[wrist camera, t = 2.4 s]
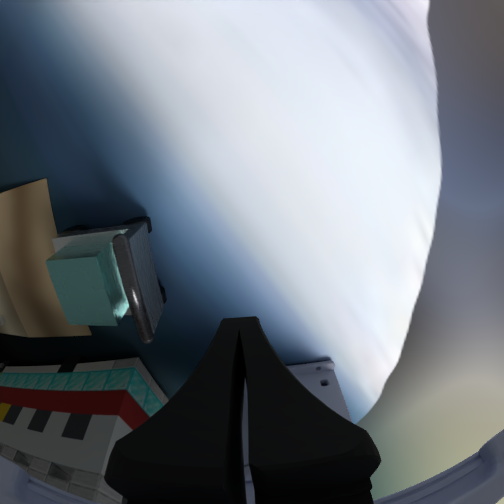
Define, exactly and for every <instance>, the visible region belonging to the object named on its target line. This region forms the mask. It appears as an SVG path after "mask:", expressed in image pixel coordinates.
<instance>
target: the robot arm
mask: <svg viewBox="0 0 504 504" xmlns="http://www.w3.org/2000/svg"><path fill="white" fill-rule="evenodd" d="M334 367H335V364H334V362H333V361H331V360H329V361H322V362H315V363H308V364H300V365H292V366H286V365H285V364H284V363H283V362H282V360H281V359H280V358H279V356H278V355H277V353H276V352H275V350H274V349H273V347H272V346H271V344H270V342H269V341H268V339H267V337H266V335H265V333H264V332H263V329H262V327H261V325H260V322H259V319H258V318H257V317H256V316H253V317H240V318H224V319H223V320H222V321H221V323H220V326H219V328H218V331H217V333H216V335H215V337H214V339H213V341H212V343H211V344H210V346H209V348H208V350H207V352H206V353H205V355H204V357H203V358H202V360H201V361H200V363H199V364H198V366H197V367H196V369H195V370H194V372H193V373H192V374H191V376H190V377H189V378H188V380H187V381H186V382H185V383H184V384H183V386H182V387H181V388H180V389H179V390H178V391H177V392H176V394H175V395H174V396H173V397H172V398H171V399H170V400H169V401H168V402H167V403H166V404H165V405H164V406H163V407H162V408H161V409H159V410H158V411H157V412H156V413H155V414H154V415H152V416H151V417H150V418H149V419H148V420H146V421H145V422H144V423H143V424H141V425H140V426H139V427H137V428H136V429H134V430H133V431H131V432H130V433H128V434H127V435H125V436H124V437H122V438H120V439H119V440H117V441H116V442H115V445H114V447H113V449H112V451H111V454H110V456H109V460H108V464H107V467H106V471H105V475H104V480H105V482H106V483H107V485H109V486H110V487H111V488H112V489H113V490H115V491H116V492H117V493H119V494H120V495H122V496H123V497H124V498H126V499H127V504H495V503H497V502H498V501H499V500H500V499H501V498H502V497H504V429H503V430H502V431H501V432H499V433H498V434H496V435H495V436H494V437H492V438H491V439H490V440H489V441H487V443H485V444H484V445H483V446H482V448H480V450H479V451H478V452H476V453H475V454H473V455H472V456H470V457H468V458H467V459H465V460H463V461H462V462H460V463H458V464H456V465H455V466H453V467H451V468H449V469H447V470H445V471H443V472H441V473H440V474H438V475H435V476H433V477H431V478H429V479H427V480H425V481H423V482H421V483H419V484H416V485H414V486H411V487H409V488H407V489H405V490H402V491H399V492H396V493H394V494H391V495H388V496H386V497H383V498H380V499H377V500H374V501H373V499H372V495H371V492H370V490H371V489H372V484H371V480H370V477H371V475H372V474H373V473H374V472H375V470H376V469H377V468H378V466H379V465H380V462H381V458H380V454H379V452H378V449H377V447H376V446H375V444H374V442H373V440H372V439H371V437H370V435H369V434H368V433H367V431H366V430H364V429H363V428H361V427H359V426H357V425H355V424H353V423H352V420H351V417H350V414H349V411H348V408H347V405H346V402H345V400H344V397H343V394H342V391H341V388H340V386H339V383H338V380H337V377H336V375H335V372H334ZM0 504H100V503H97V502H94V501H90V500H87V499H84V498H82V497H79V496H76V495H73V494H71V493H68V492H65V491H63V490H60V489H58V488H56V487H53V486H51V485H49V484H47V483H44V482H42V481H40V480H38V479H36V478H34V477H32V476H30V475H29V474H28V473H27V472H26V471H25V470H23V469H22V468H21V467H19V466H18V465H16V464H15V463H13V462H11V461H9V460H8V459H6V458H4V457H3V456H1V455H0Z"/></svg>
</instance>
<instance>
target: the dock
mask: <svg viewBox="0 0 504 504" xmlns="http://www.w3.org/2000/svg"><path fill="white" fill-rule="evenodd" d="M57 235H58V233H57V229H56V225H55V221H54V216H53V212H52V207H51V202H50V196H49V191H48V185H47V178H45V179H42V180H39V181H35V182H32V183H29V184H26V185H23V186H20V187H17V188H14V189H11V190H8V191H6V192H3V193H0V333H4V334H10V335H17V336H23V337H63V336H85V335H92V334H91V331H90V329H89V327H88V325H71V324H68V321H67V319H66V317H65V314H64V312H63V310H62V307H61V305H60V302H59V300H58V297H57V294H56V292H55V289H54V286H53V283H52V281H51V278H50V275H49V272H48V269H47V266H46V262H45V261H46V260H47V259H48V258H50V257H51V256H52V255H54V254H55V249H54V246H53V242H52V238H54V237H55V236H57Z"/></svg>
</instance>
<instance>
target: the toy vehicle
mask: <svg viewBox="0 0 504 504" xmlns="http://www.w3.org/2000/svg"><path fill="white" fill-rule="evenodd" d="M168 401H169V399H168V398H167V397H166V395H165V394H164V393H163V391H162V390H161V389H160V387H159V386H158V385H157V383H156V382H155V380H154V379H153V378H152V376H151V375H150V373H149V372H148V370H147V369H146V367H145V366H144V364H143V363H142V362H141V360H140V358H139V357H135V358H128V359H119V360H111V361H101V362H91V363H87V362H86V361H85V359H84V358H83V356H72V357H66V358H65V360H64V361H63V363H62V365H49V366H14V365H13V364H12V362H11V361H2V362H1V363H0V455H1V456H3V457H4V458H6V459H8V460H9V461H11V462H13V463H15V464H16V465H18V466H19V467H21V468H22V469H23V470H25V471H26V472H27V473H28V474H29V475H30V476H32V477H34V478H36V479H38V480H40V481H42V482H44V483H47V484H49V485H51V486H53V487H56V488H58V489H60V490H63V491H65V492H68V493H71V494H73V495H76V496H79V497H82V498H84V499H87V500H90V501H94V502H97V503H100V504H127V499H126V498H124V497H123V496H122V495H120V494H119V493H117V492H116V491H115V490H113V489H112V488H111V487H110V486H109V485H107V483H106V482H105V480H104V475H105V471H106V467H107V464H108V460H109V456H110V454H111V451H112V449H113V447H114V445H115V442H116V441H117V440H119V439H120V438H122V437H124V436H125V435H127V434H128V433H130V432H131V431H133V430H134V429H136V428H137V427H139V426H140V425H141V424H143V423H144V422H145V421H146V420H148V419H149V418H150V417H151V416H152V415H154V414H155V413H156V412H157V411H158V410H159V409H161V408H162V407H163V406H164V405H165V404H166V403H167V402H168Z"/></svg>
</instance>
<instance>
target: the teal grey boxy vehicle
mask: <svg viewBox="0 0 504 504" xmlns="http://www.w3.org/2000/svg"><path fill="white" fill-rule="evenodd" d="M123 224H124V225H120V226H112V227H104V228H97V229H89V230H85V226H84V225H78V226H74V227H71V228H68V229H66V230H64V231H63V232H62V233H61V234H58V235H57V236H55V237H54V238H52V242H53V246H54V249H55V254H54V255H52V256H51V257H50V258H48V259H47V260H46V261H45V262H46V266H47V269H48V272H49V275H50V278H51V281H52V283H53V286H54V289H55V292H56V294H57V297H58V300H59V302H60V305H61V307H62V310H63V312H64V314H65V317H66V319H67V321H68V324H71V325H95V326H118V325H119V323H120V321H121V320H122V318H123V316H124V315H132V317H133V320H134V323H135V326H136V329H137V332H138V334H139V337H140V340H141V341H142V342H143V343H146V344H149V343H151V342H152V341H153V340H154V334H153V333H154V332H155V329H156V327H157V324H158V321H159V319H160V316H161V313H162V311H163V308H164V303H165V302H166V300H167V299H166V295H165V290H164V288H163V287H162V286H159V283H158V279H157V274H156V270H155V265H154V260H153V256H152V251H151V246H150V240H149V235H148V233H150V232H151V231H152V226H151V220H150V217H137V218H133V219H130V220H127V221H125V222H124V223H123Z"/></svg>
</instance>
